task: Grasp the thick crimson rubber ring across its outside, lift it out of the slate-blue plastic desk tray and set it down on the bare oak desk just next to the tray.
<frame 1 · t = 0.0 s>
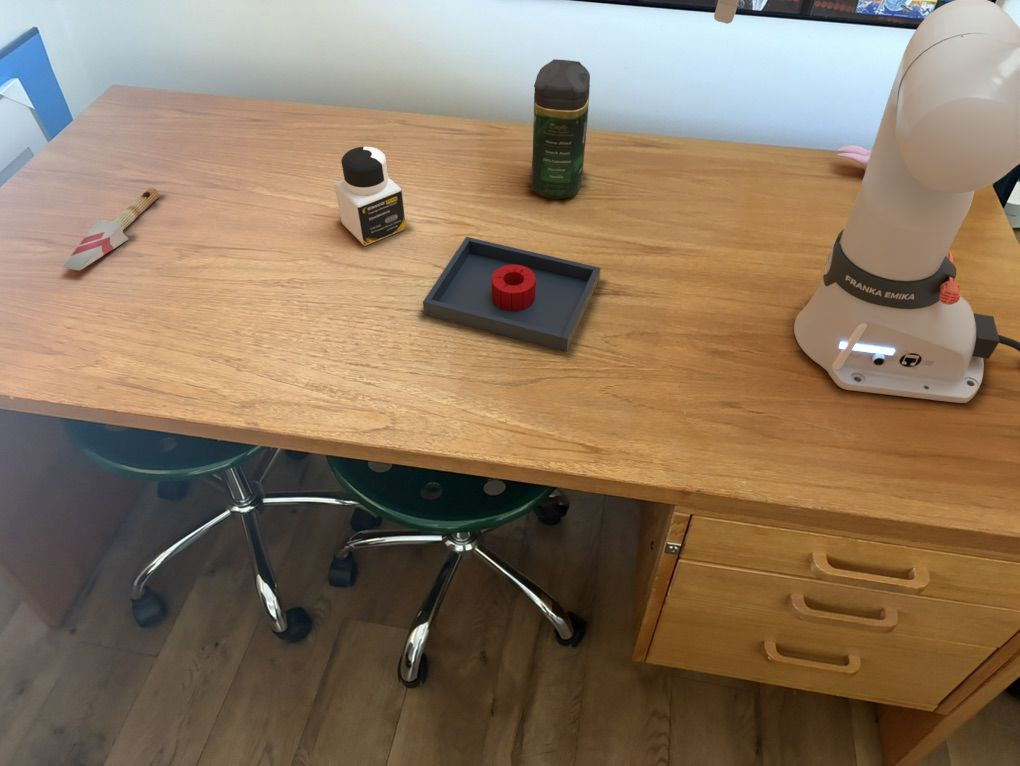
hand: (731, 0, 78), 39 cm above the table, tool pointing down, fingers open, 8 cm apart
medicine bottle: (374, 227, 118), on the table
tray: (513, 299, 107), on the table
ring: (513, 296, 106), resting on tray
rabbit figure: (880, 177, 126), on the table
garden trowel: (119, 236, 116), on the table
coffee jar: (557, 184, 125), on the table
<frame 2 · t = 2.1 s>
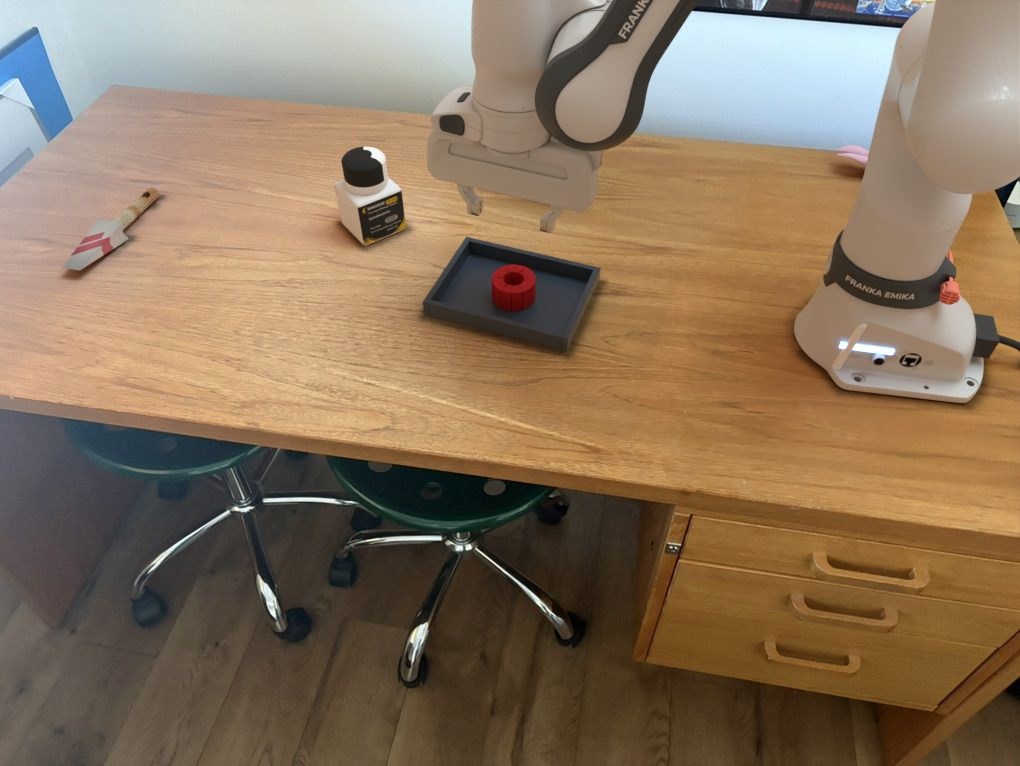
hand: (511, 221, 97), 13 cm above the table, tool pointing down, fingers open, 8 cm apart
nothing on the table moved.
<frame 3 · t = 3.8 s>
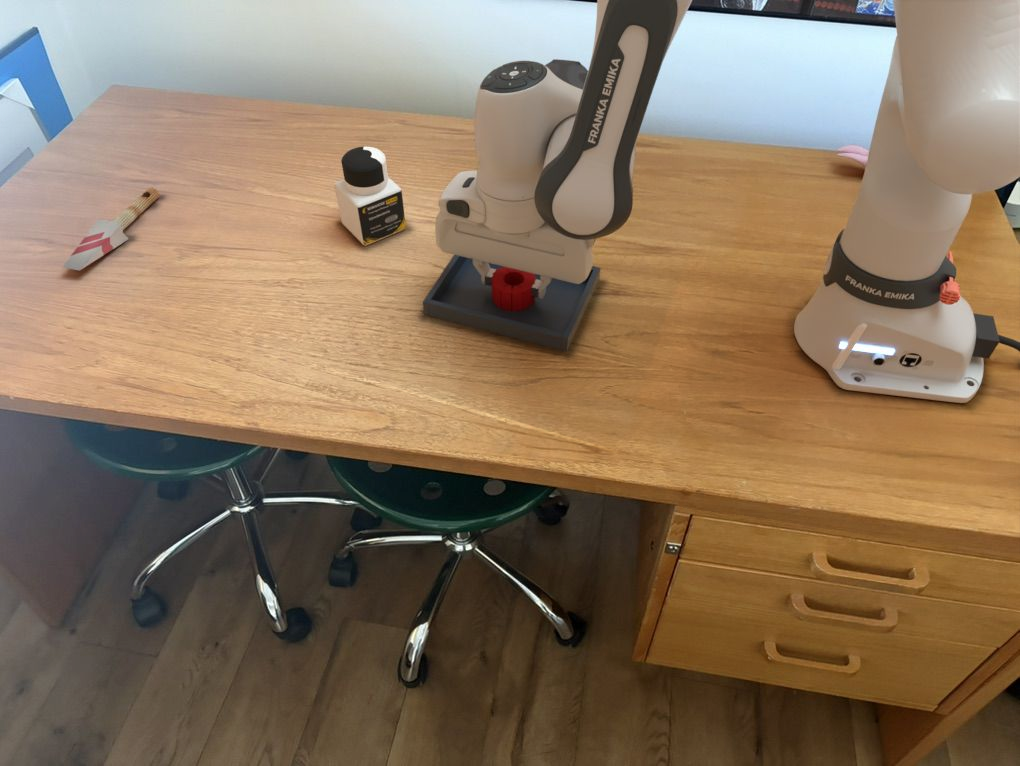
hand: (513, 288, 105), 2 cm above the table, tool pointing down, fingers closed on ring, 5 cm apart
ring: (513, 296, 106), point 1 cm above the table, touching gripper, tray
everything else where it was.
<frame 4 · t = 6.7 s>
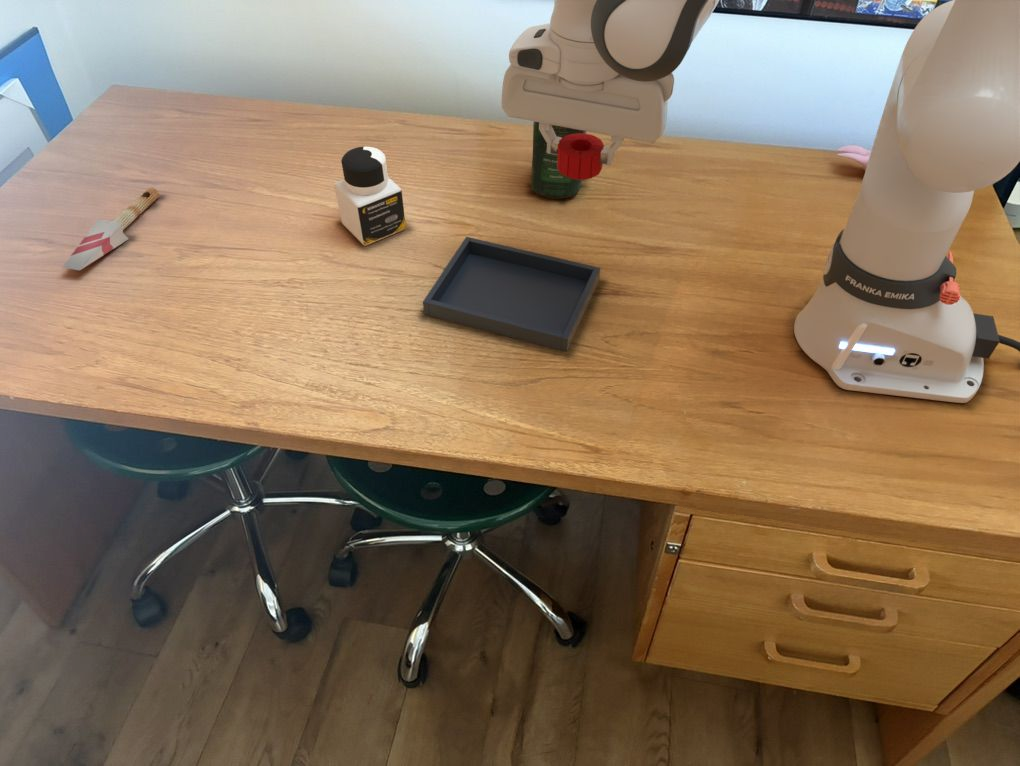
hand: (579, 157, 102), 16 cm above the table, tool pointing down, fingers closed on ring, 5 cm apart
ring: (579, 167, 103), point 14 cm above the table, touching gripper
everything else where it was.
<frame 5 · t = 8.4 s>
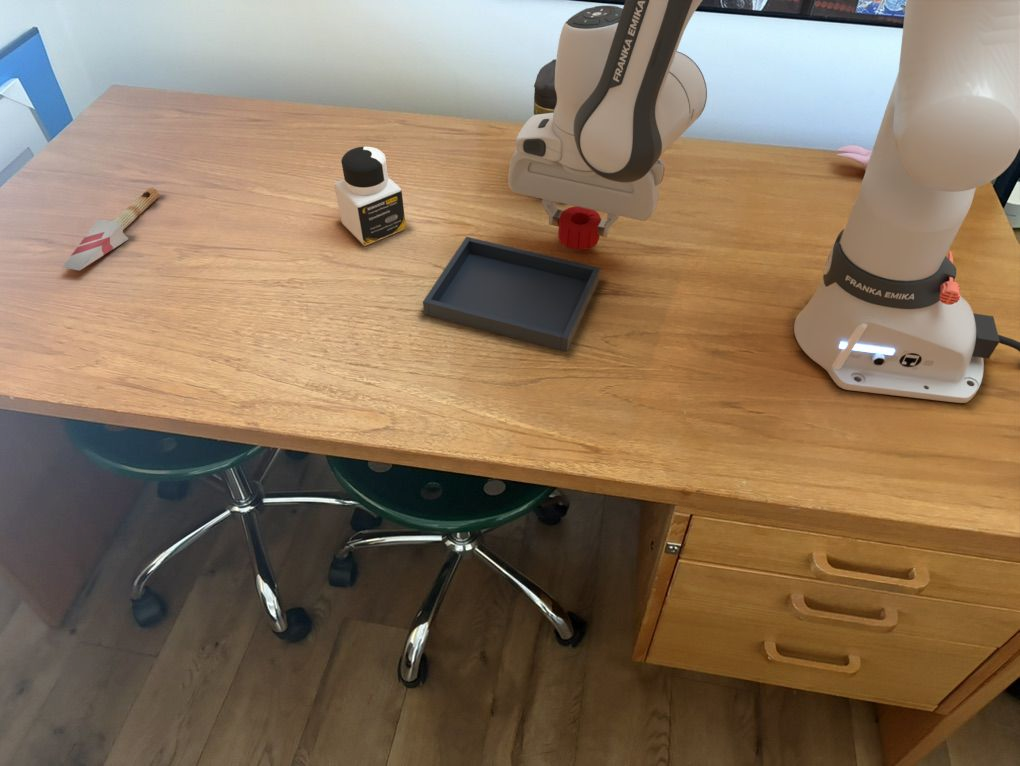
hand: (579, 228, 111), 4 cm above the table, tool pointing down, fingers closed on ring, 5 cm apart
ring: (578, 237, 112), point 2 cm above the table, touching gripper
everything else where it was.
when the fingers open (1 cm above the table, at t = 9.6 s): ring stays where it is, on the table.
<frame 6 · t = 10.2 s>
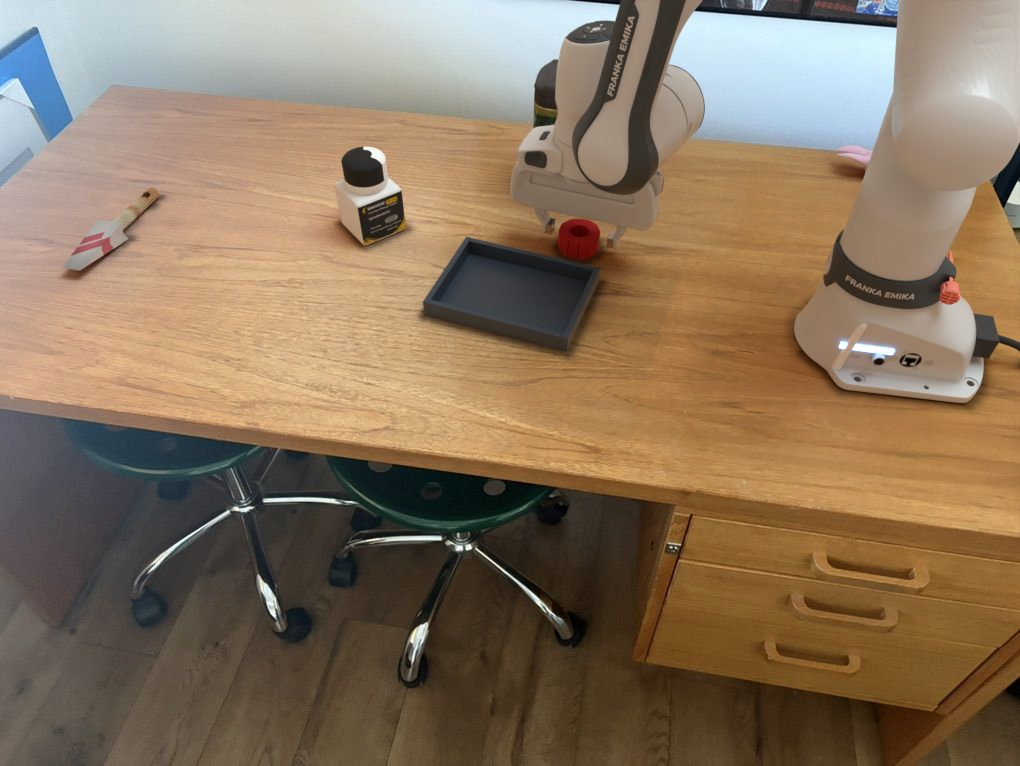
hand: (580, 238, 113), 2 cm above the table, tool pointing down, fingers open, 8 cm apart
ring: (578, 248, 114), on the table
everything else where it was.
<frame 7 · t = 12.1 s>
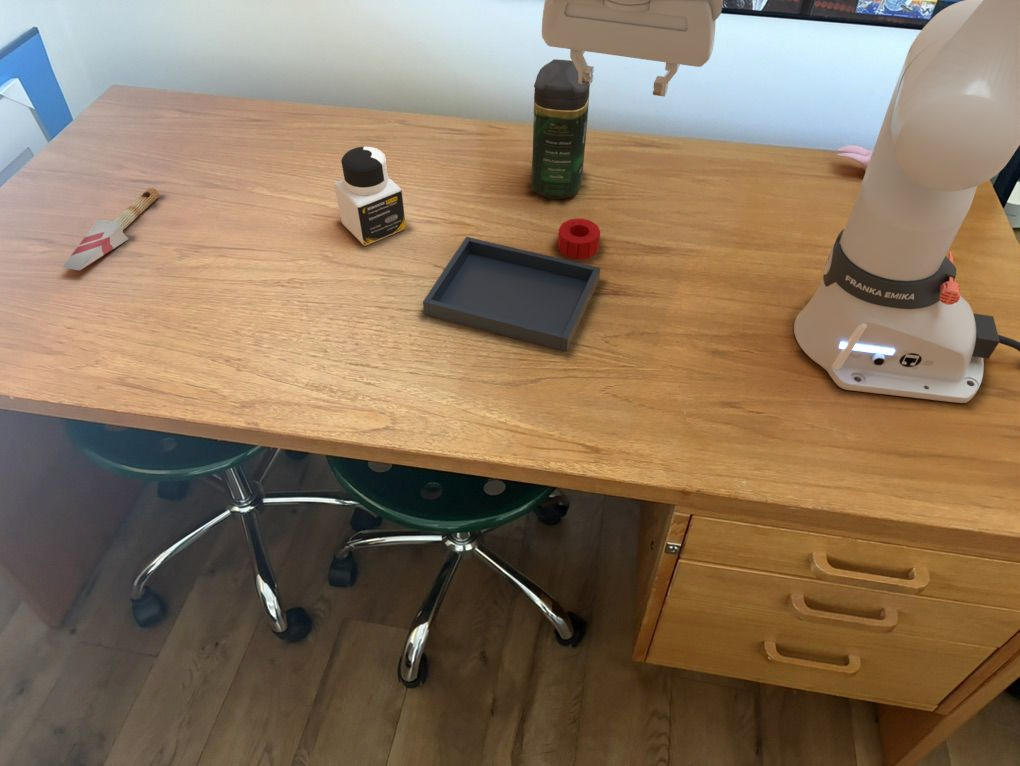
hand: (622, 88, 98), 23 cm above the table, tool pointing down, fingers open, 8 cm apart
nothing on the table moved.
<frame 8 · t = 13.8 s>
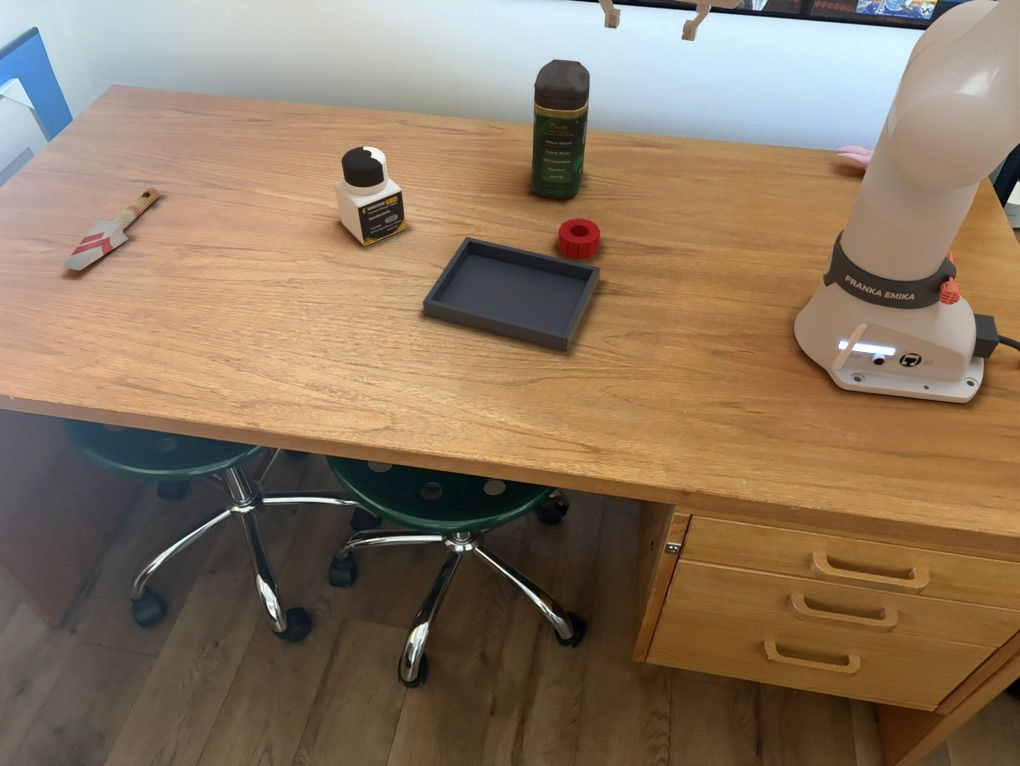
hand: (649, 32, 95), 29 cm above the table, tool pointing down, fingers open, 8 cm apart
nothing on the table moved.
at the end: ring inside the target area (2.1 cm from its centre), on the table; ring touching table; the gripper is holding nothing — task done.
